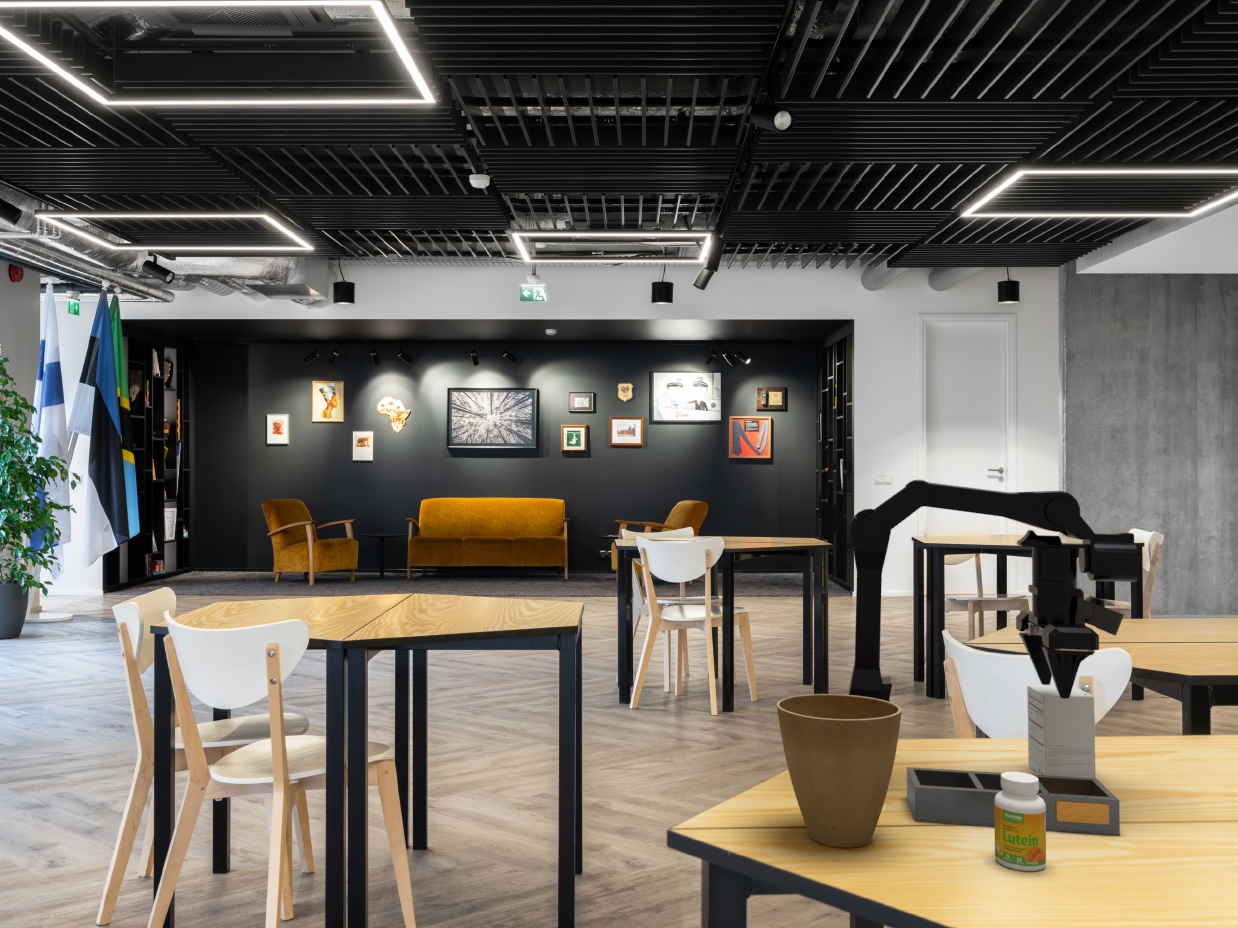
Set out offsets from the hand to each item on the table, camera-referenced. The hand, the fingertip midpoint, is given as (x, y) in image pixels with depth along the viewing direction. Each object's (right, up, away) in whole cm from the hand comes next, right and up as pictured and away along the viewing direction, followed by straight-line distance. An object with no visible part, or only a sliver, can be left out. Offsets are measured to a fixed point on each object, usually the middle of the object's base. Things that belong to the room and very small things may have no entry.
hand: (1054, 691), depth 129 cm
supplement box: (+5, -15, +9) cm, 18 cm away
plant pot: (-34, -14, -17) cm, 41 cm away
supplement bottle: (-15, -14, -24) cm, 32 cm away
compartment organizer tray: (-10, -14, -9) cm, 20 cm away
